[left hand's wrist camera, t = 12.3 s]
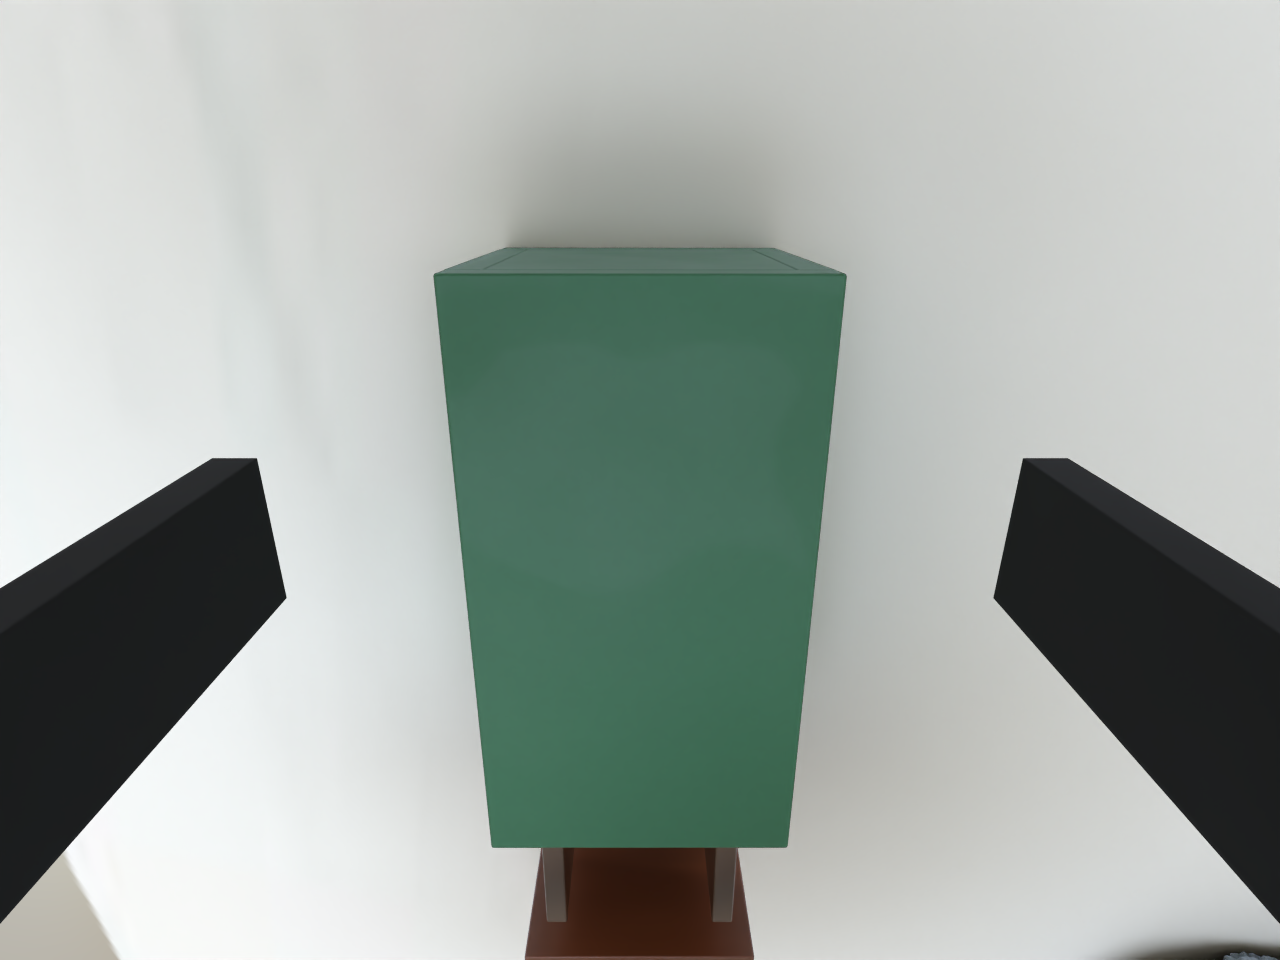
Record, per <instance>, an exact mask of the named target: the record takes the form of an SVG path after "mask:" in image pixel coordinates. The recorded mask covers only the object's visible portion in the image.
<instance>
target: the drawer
mask: <svg viewBox="0 0 1280 960" xmlns="http://www.w3.org/2000/svg"><path fill="white" fill-rule="evenodd" d="M525 960H754V953H753V947H752V940H751V933H750V927H749V920H748V914H747V907H746V900H745V894H744V887H743V881H742V874H741V867H740V861H739V854H738V848H541V853H540V860H539V866H538V873H537V880H536V886H535V893H534V899H533V906H532V913H531V919H530V926H529V933H528V939H527V946H526V953H525Z"/></svg>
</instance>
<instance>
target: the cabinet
mask: <svg viewBox="0 0 1280 960" xmlns="http://www.w3.org/2000/svg"><path fill="white" fill-rule="evenodd" d="M846 278H847V276H846V274H844V273H841V272H839V271H836V270H834V269H831V268H828V267H825V266H823V265H820V264H817V263H814V262H812V261H809V260H806V259H803V258H801V257H798V256H795V255H792V254H789V253H787V252H784V251H781V250H778V249H775V248H504V249H501V250H497V251H495V252H492V253H489V254H486V255H483V256H481V257H478V258H475V259H472V260H470V261H467V262H464V263H461V264H459V265H456V266H453V267H450V268H448V269H445V270H443V271H441V272H438V273H435V274H434V286H435V295H436V305H437V315H438V325H439V335H440V345H441V354H442V364H443V374H444V384H445V394H446V403H447V413H448V423H449V433H450V443H451V452H452V462H453V472H454V482H455V492H456V502H457V511H458V521H459V531H460V541H461V551H462V560H463V570H464V580H465V590H466V600H467V610H468V619H469V629H470V639H471V649H472V659H473V668H474V678H475V688H476V698H477V708H478V717H479V727H480V737H481V747H482V757H483V767H484V776H485V786H486V796H487V806H488V816H489V825H490V835H491V845H492V847H493V848H786V847H787V846H788V837H789V827H790V818H791V808H792V798H793V789H794V779H795V769H796V760H797V750H798V741H799V731H800V721H801V712H802V702H803V692H804V683H805V673H806V663H807V654H808V644H809V635H810V625H811V615H812V606H813V596H814V586H815V577H816V567H817V558H818V548H819V538H820V529H821V519H822V509H823V500H824V490H825V481H826V471H827V461H828V452H829V442H830V432H831V423H832V413H833V403H834V394H835V384H836V375H837V365H838V355H839V346H840V336H841V326H842V317H843V307H844V298H845V288H846Z"/></svg>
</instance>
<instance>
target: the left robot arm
mask: <svg viewBox="0 0 1280 960" xmlns="http://www.w3.org/2000/svg"><path fill="white" fill-rule="evenodd" d="M285 599H286V593H285V589H284V584H283V579H282V574H281V570H280V565H279V560H278V556H277V551H276V546H275V541H274V537H273V532H272V527H271V523H270V518H269V513H268V508H267V504H266V499H265V494H264V490H263V485H262V480H261V475H260V471H259V466H258V461H257V458H212V459H210V460H209V461H207V462H205V463H204V464H202V465H201V466H199V467H197V468H196V469H194V470H192V471H191V472H189V473H188V474H186V475H184V476H183V477H181V478H179V479H178V480H176V481H174V482H173V483H171V484H170V485H168V486H166V487H165V488H163V489H161V490H160V491H158V492H157V493H155V494H153V495H152V496H150V497H148V498H147V499H145V500H144V501H142V502H140V503H139V504H137V505H135V506H134V507H132V508H130V509H129V510H127V511H126V512H124V513H122V514H121V515H119V516H117V517H116V518H114V519H113V520H111V521H109V522H108V523H106V524H104V525H103V526H101V527H100V528H98V529H96V530H95V531H93V532H91V533H90V534H88V535H86V536H85V537H83V538H82V539H80V540H78V541H77V542H75V543H73V544H72V545H70V546H69V547H67V548H65V549H64V550H62V551H60V552H59V553H57V554H56V555H54V556H52V557H51V558H49V559H47V560H46V561H44V562H42V563H41V564H39V565H38V566H36V567H34V568H33V569H31V570H29V571H28V572H26V573H25V574H23V575H21V576H20V577H18V578H16V579H15V580H13V581H12V582H10V583H8V584H7V585H5V586H3V587H2V588H0V923H1V922H2V921H3V920H4V919H5V918H6V916H7V915H8V914H9V913H10V912H11V911H12V910H13V909H14V907H15V906H16V905H17V904H18V903H19V902H20V901H21V899H22V898H23V897H24V896H25V895H26V894H27V893H28V891H29V890H30V889H31V888H32V887H33V886H34V885H35V884H36V882H37V881H38V880H39V879H40V878H41V877H42V876H43V874H44V873H45V872H46V871H47V870H48V869H49V868H50V866H51V865H52V864H53V863H54V862H55V861H56V860H57V858H58V857H59V856H60V855H61V854H62V853H63V852H64V851H65V849H66V848H67V847H68V846H69V845H70V844H71V843H72V841H73V840H74V839H75V838H76V837H77V836H78V835H79V833H80V832H81V831H82V830H83V829H84V828H85V827H86V825H87V824H88V823H89V822H90V821H91V820H92V819H93V818H94V816H95V815H96V814H97V813H98V812H99V811H100V810H101V808H102V807H103V806H104V805H105V804H106V803H107V802H108V800H109V799H110V798H111V797H112V796H113V795H114V794H115V793H116V791H117V790H118V789H119V788H120V787H121V786H122V785H123V783H124V782H125V781H126V780H127V779H128V778H129V777H130V775H131V774H132V773H133V772H134V771H135V770H136V769H137V767H138V766H139V765H140V764H141V763H142V762H143V761H144V760H145V758H146V757H147V756H148V755H149V754H150V753H151V752H152V750H153V749H154V748H155V747H156V746H157V745H158V744H159V742H160V741H161V740H162V739H163V738H164V737H165V736H166V734H167V733H168V732H169V731H170V730H171V729H172V728H173V727H174V725H175V724H176V723H177V722H178V721H179V720H180V719H181V717H182V716H183V715H184V714H185V713H186V712H187V711H188V709H189V708H190V707H191V706H192V705H193V704H194V703H195V701H196V700H197V699H198V698H199V697H200V696H201V695H202V694H203V692H204V691H205V690H206V689H207V688H208V687H209V686H210V684H211V683H212V682H213V681H214V680H215V679H216V678H217V676H218V675H219V674H220V673H221V672H222V671H223V670H224V669H225V667H226V666H227V665H228V664H229V663H230V662H231V661H232V659H233V658H234V657H235V656H236V655H237V654H238V653H239V651H240V650H241V649H242V648H243V647H244V646H245V645H246V643H247V642H248V641H249V640H250V639H251V638H252V637H253V636H254V634H255V633H256V632H257V631H258V630H259V629H260V628H261V626H262V625H263V624H264V623H265V622H266V621H267V620H268V618H269V617H270V616H271V615H272V614H273V613H274V612H275V610H276V609H277V608H278V607H279V606H280V605H281V604H282V603H283V601H284V600H285ZM994 599H995V600H996V601H997V603H998V604H999V605H1000V606H1001V607H1002V608H1003V609H1004V610H1005V612H1006V613H1007V614H1008V615H1009V616H1010V617H1011V618H1012V620H1013V621H1014V622H1015V623H1016V624H1017V625H1018V626H1019V628H1020V629H1021V630H1022V631H1023V632H1024V633H1025V634H1026V636H1027V637H1028V638H1029V639H1030V640H1031V641H1032V642H1033V643H1034V645H1035V646H1036V647H1037V648H1038V649H1039V650H1040V651H1041V653H1042V654H1043V655H1044V656H1045V657H1046V658H1047V659H1048V661H1049V662H1050V663H1051V664H1052V665H1053V666H1054V667H1055V669H1056V670H1057V671H1058V672H1059V673H1060V674H1061V675H1062V676H1063V678H1064V679H1065V680H1066V681H1067V682H1068V683H1069V684H1070V686H1071V687H1072V688H1073V689H1074V690H1075V691H1076V692H1077V694H1078V695H1079V696H1080V697H1081V698H1082V699H1083V700H1084V702H1085V703H1086V704H1087V705H1088V706H1089V707H1090V708H1091V709H1092V711H1093V712H1094V713H1095V714H1096V715H1097V716H1098V717H1099V719H1100V720H1101V721H1102V722H1103V723H1104V724H1105V725H1106V727H1107V728H1108V729H1109V730H1110V731H1111V732H1112V733H1113V734H1114V736H1115V737H1116V738H1117V739H1118V740H1119V741H1120V742H1121V744H1122V745H1123V746H1124V747H1125V748H1126V749H1127V750H1128V752H1129V753H1130V754H1131V755H1132V756H1133V757H1134V758H1135V760H1136V761H1137V762H1138V763H1139V764H1140V765H1141V766H1142V767H1143V769H1144V770H1145V771H1146V772H1147V773H1148V774H1149V775H1150V777H1151V778H1152V779H1153V780H1154V781H1155V782H1156V783H1157V785H1158V786H1159V787H1160V788H1161V789H1162V790H1163V791H1164V793H1165V794H1166V795H1167V796H1168V797H1169V798H1170V799H1171V800H1172V802H1173V803H1174V804H1175V805H1176V806H1177V807H1178V808H1179V810H1180V811H1181V812H1182V813H1183V814H1184V815H1185V816H1186V818H1187V819H1188V820H1189V821H1190V822H1191V823H1192V824H1193V825H1194V827H1195V828H1196V829H1197V830H1198V831H1199V832H1200V833H1201V835H1202V836H1203V837H1204V838H1205V839H1206V840H1207V841H1208V843H1209V844H1210V845H1211V846H1212V847H1213V848H1214V849H1215V851H1216V852H1217V853H1218V854H1219V855H1220V856H1221V857H1222V858H1223V860H1224V861H1225V862H1226V863H1227V864H1228V865H1229V866H1230V868H1231V869H1232V870H1233V871H1234V872H1235V873H1236V874H1237V876H1238V877H1239V878H1240V879H1241V880H1242V881H1243V882H1244V884H1245V885H1246V886H1247V887H1248V888H1249V889H1250V890H1251V891H1252V893H1253V894H1254V895H1255V896H1256V897H1257V898H1258V899H1259V901H1260V902H1261V903H1262V904H1263V905H1264V906H1265V907H1266V909H1267V910H1268V911H1269V912H1270V913H1271V914H1272V915H1273V916H1274V918H1275V919H1276V920H1277V921H1278V922H1279V923H1280V588H1278V587H1277V586H1275V585H1273V584H1272V583H1270V582H1268V581H1267V580H1265V579H1264V578H1262V577H1260V576H1259V575H1257V574H1255V573H1254V572H1252V571H1251V570H1249V569H1247V568H1246V567H1244V566H1242V565H1241V564H1239V563H1238V562H1236V561H1234V560H1233V559H1231V558H1229V557H1228V556H1226V555H1224V554H1223V553H1221V552H1220V551H1218V550H1216V549H1215V548H1213V547H1211V546H1210V545H1208V544H1207V543H1205V542H1203V541H1202V540H1200V539H1198V538H1197V537H1195V536H1194V535H1192V534H1190V533H1189V532H1187V531H1185V530H1184V529H1182V528H1180V527H1179V526H1177V525H1176V524H1174V523H1172V522H1171V521H1169V520H1167V519H1166V518H1164V517H1163V516H1161V515H1159V514H1158V513H1156V512H1154V511H1153V510H1151V509H1150V508H1148V507H1146V506H1145V505H1143V504H1141V503H1140V502H1138V501H1136V500H1135V499H1133V498H1132V497H1130V496H1128V495H1127V494H1125V493H1123V492H1122V491H1120V490H1119V489H1117V488H1115V487H1114V486H1112V485H1110V484H1109V483H1107V482H1106V481H1104V480H1102V479H1101V478H1099V477H1097V476H1096V475H1094V474H1092V473H1091V472H1089V471H1088V470H1086V469H1084V468H1083V467H1081V466H1079V465H1078V464H1076V463H1075V462H1073V461H1071V460H1070V459H1068V458H1023V461H1022V466H1021V471H1020V475H1019V480H1018V485H1017V490H1016V494H1015V499H1014V504H1013V508H1012V513H1011V518H1010V523H1009V527H1008V532H1007V537H1006V541H1005V546H1004V551H1003V556H1002V560H1001V565H1000V570H999V574H998V579H997V584H996V589H995V593H994Z"/></svg>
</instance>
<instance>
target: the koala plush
mask: <svg viewBox="0 0 1280 960" xmlns="http://www.w3.org/2000/svg"><path fill="white" fill-rule="evenodd" d="M1223 960H1280V959H1276V958H1273V957H1270V956H1262V957H1260V956H1258V955H1255V954H1254V953H1249V954H1247V953H1245V952H1241V953H1240V954H1238V953H1230V956H1228V955H1226V956H1224V958H1223Z"/></svg>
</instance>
